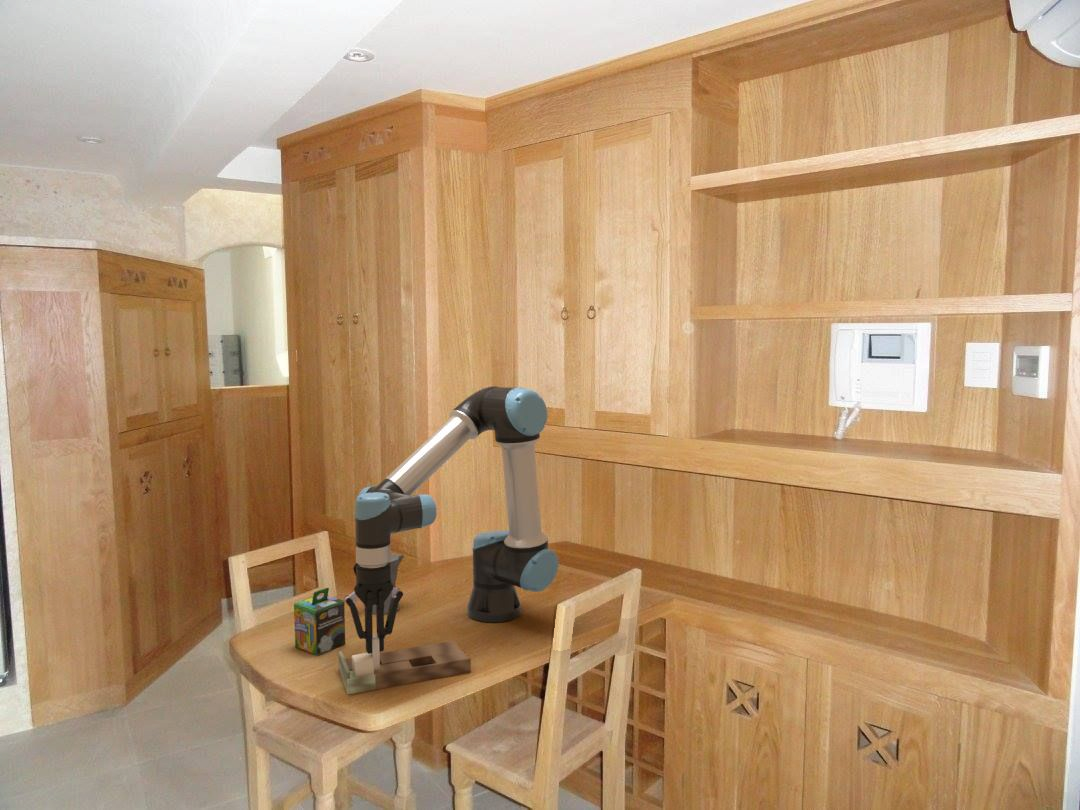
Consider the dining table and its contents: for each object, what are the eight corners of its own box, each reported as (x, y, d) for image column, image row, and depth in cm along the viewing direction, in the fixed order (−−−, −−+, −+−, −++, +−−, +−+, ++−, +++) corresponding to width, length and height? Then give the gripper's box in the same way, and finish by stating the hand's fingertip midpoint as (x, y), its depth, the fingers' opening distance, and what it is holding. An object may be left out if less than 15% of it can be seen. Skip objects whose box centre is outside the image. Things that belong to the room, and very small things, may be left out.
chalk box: (323, 635, 194) (322, 580, 193) (346, 644, 189) (345, 587, 187) (293, 647, 186) (291, 589, 185) (316, 656, 181) (315, 597, 180)
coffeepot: (397, 600, 221) (396, 540, 219) (412, 609, 213) (411, 547, 212) (348, 611, 212) (346, 549, 210) (361, 621, 204) (360, 556, 203)
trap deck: (454, 650, 185) (453, 633, 184) (470, 671, 173) (470, 653, 172) (338, 670, 173) (338, 651, 173) (347, 694, 162) (347, 674, 161)
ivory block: (370, 668, 169) (369, 651, 168) (374, 676, 165) (373, 658, 165) (352, 672, 167) (351, 655, 167) (355, 680, 164) (354, 662, 163)
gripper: (398, 555, 171) (400, 654, 173) (340, 561, 166) (342, 664, 168) (406, 564, 165) (407, 667, 167) (346, 571, 159) (348, 677, 161)
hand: (375, 665), depth 167 cm, fingers closed
